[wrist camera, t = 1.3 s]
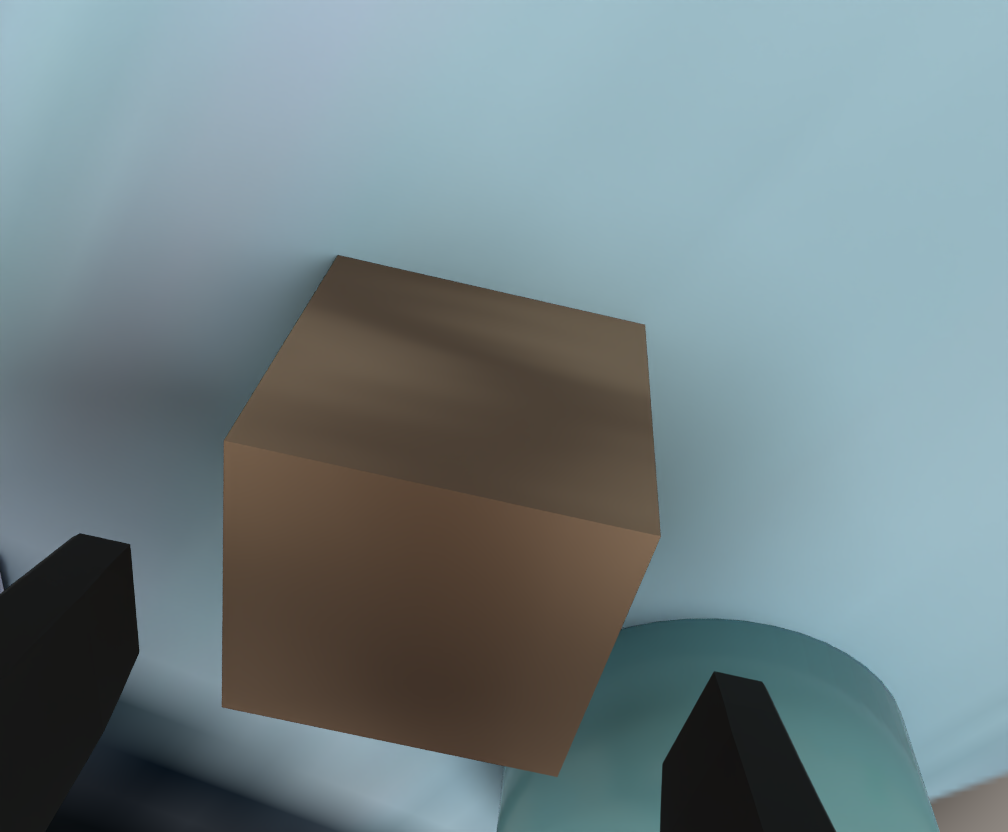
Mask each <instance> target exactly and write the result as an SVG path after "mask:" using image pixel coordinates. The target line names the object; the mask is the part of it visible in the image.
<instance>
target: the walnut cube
mask: <svg viewBox="0 0 1008 832" xmlns="http://www.w3.org/2000/svg"><path fill="white" fill-rule="evenodd" d="M660 537H661V533H660V520H659V507H658V493H657V480H656V466H655V453H654V439H653V426H652V412H651V399H650V385H649V372H648V358H647V345H646V331H645V325H644V324H639V323H635V322H631V321H626V320H622V319H617V318H613V317H609V316H604V315H600V314H595V313H591V312H587V311H582V310H578V309H573V308H569V307H565V306H560V305H556V304H551V303H547V302H543V301H538V300H534V299H529V298H525V297H521V296H516V295H512V294H507V293H503V292H498V291H494V290H490V289H485V288H481V287H476V286H472V285H468V284H463V283H459V282H454V281H450V280H446V279H441V278H437V277H432V276H428V275H424V274H419V273H415V272H410V271H406V270H402V269H397V268H393V267H388V266H384V265H380V264H375V263H371V262H366V261H362V260H358V259H353V258H349V257H344V256H340V255H338V256H337V257H336V259H335V261H334V262H333V264H332V265H331V267H330V269H329V270H328V272H327V274H326V275H325V277H324V278H323V280H322V282H321V283H320V285H319V287H318V288H317V290H316V292H315V293H314V295H313V296H312V298H311V300H310V301H309V303H308V305H307V306H306V308H305V309H304V311H303V313H302V314H301V316H300V318H299V319H298V321H297V322H296V324H295V326H294V327H293V329H292V331H291V332H290V334H289V335H288V337H287V339H286V340H285V342H284V344H283V345H282V347H281V348H280V350H279V352H278V353H277V355H276V357H275V358H274V360H273V361H272V363H271V365H270V366H269V368H268V370H267V371H266V373H265V374H264V376H263V378H262V379H261V381H260V383H259V384H258V386H257V387H256V389H255V391H254V392H253V394H252V396H251V397H250V399H249V401H248V402H247V404H246V405H245V407H244V409H243V410H242V412H241V414H240V415H239V417H238V418H237V420H236V422H235V423H234V425H233V427H232V428H231V430H230V431H229V433H228V435H227V436H226V438H225V440H224V491H223V621H222V707H223V708H228V709H233V710H238V711H242V712H247V713H252V714H257V715H262V716H266V717H271V718H276V719H281V720H286V721H290V722H295V723H300V724H305V725H310V726H314V727H319V728H324V729H329V730H334V731H338V732H343V733H348V734H353V735H358V736H362V737H367V738H372V739H377V740H382V741H386V742H391V743H396V744H401V745H406V746H410V747H415V748H420V749H425V750H430V751H434V752H439V753H444V754H449V755H453V756H458V757H463V758H468V759H473V760H477V761H482V762H487V763H492V764H497V765H501V766H506V767H511V768H516V769H521V770H525V771H530V772H535V773H540V774H545V775H549V776H554V777H558V775H559V772H560V770H561V768H562V765H563V763H564V761H565V758H566V756H567V754H568V751H569V749H570V747H571V744H572V742H573V740H574V737H575V735H576V733H577V730H578V728H579V726H580V723H581V721H582V719H583V716H584V714H585V712H586V709H587V707H588V705H589V702H590V700H591V698H592V695H593V693H594V691H595V688H596V686H597V684H598V681H599V679H600V677H601V674H602V672H603V670H604V667H605V665H606V663H607V660H608V658H609V656H610V653H611V651H612V649H613V646H614V644H615V642H616V639H617V637H618V635H619V632H620V630H621V628H622V625H623V623H624V621H625V618H626V616H627V614H628V611H629V609H630V607H631V604H632V602H633V600H634V598H635V595H636V593H637V591H638V588H639V586H640V584H641V581H642V579H643V577H644V574H645V572H646V570H647V567H648V565H649V563H650V560H651V558H652V556H653V553H654V551H655V549H656V546H657V544H658V542H659V539H660Z"/></svg>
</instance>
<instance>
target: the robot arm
mask: <svg viewBox="0 0 1008 832" xmlns="http://www.w3.org/2000/svg"><path fill="white" fill-rule="evenodd" d="M138 654H139V642H138V630H137V618H136V607H135V595H134V583H133V571H132V559H131V548H130V544H127V543H122V542H117V541H113V540H108V539H104V538H99V537H94V536H90V535H85V534H81V533H80V534H78V535H76V536H74V537H72V538H71V539H70V540H68V541H67V542H66V543H64V544H63V545H62V546H61V547H59V548H58V549H57V550H55V551H54V552H53V553H52V554H50V555H49V556H48V557H46V558H45V559H44V560H43V561H41V562H40V563H39V564H38V565H36V566H35V567H34V568H32V569H31V570H30V571H29V572H27V573H26V574H25V575H23V576H22V577H21V578H20V579H18V580H17V581H16V582H15V583H13V584H12V585H11V586H9V587H8V588H7V589H5V590H4V588H3V584H2V579H1V574H0V832H45V831H46V829H47V827H48V826H49V824H50V822H51V820H52V819H53V817H54V815H55V814H56V812H57V810H58V809H59V807H60V805H61V804H62V802H63V800H64V799H65V797H66V795H67V794H68V792H69V790H70V789H71V787H72V785H73V783H74V782H75V780H76V778H77V777H78V775H79V773H80V772H81V770H82V768H83V766H84V765H85V763H86V761H87V760H88V758H89V756H90V754H91V753H92V751H93V749H94V748H95V746H96V744H97V742H98V741H99V739H100V737H101V735H102V734H103V732H104V730H105V728H106V726H107V723H108V721H109V719H110V717H111V715H112V713H113V710H114V708H115V706H116V704H117V702H118V700H119V697H120V695H121V693H122V691H123V688H124V686H125V684H126V682H127V679H128V677H129V675H130V672H131V670H132V668H133V666H134V663H135V661H136V659H137V656H138ZM660 832H836V830H835V828H834V826H833V824H832V822H831V820H830V818H829V816H828V814H827V812H826V810H825V808H824V806H823V804H822V802H821V800H820V798H819V796H818V794H817V792H816V790H815V788H814V786H813V784H812V782H811V780H810V778H809V776H808V774H807V772H806V770H805V768H804V766H803V764H802V762H801V760H800V758H799V756H798V753H797V751H796V749H795V747H794V745H793V743H792V741H791V739H790V737H789V735H788V732H787V730H786V728H785V726H784V724H783V722H782V720H781V718H780V716H779V713H778V711H777V709H776V707H775V705H774V703H773V701H772V699H771V697H770V694H769V692H768V690H767V688H766V687H765V685H764V683H763V682H762V681H758V680H753V679H748V678H744V677H739V676H735V675H730V674H725V673H721V672H716V671H714V672H713V674H712V675H711V677H710V679H709V681H708V683H707V684H706V686H705V688H704V690H703V692H702V693H701V695H700V697H699V699H698V701H697V702H696V704H695V706H694V708H693V709H692V711H691V713H690V715H689V717H688V718H687V720H686V722H685V724H684V726H683V727H682V729H681V731H680V733H679V735H678V736H677V738H676V740H675V742H674V744H673V745H672V747H671V749H670V751H669V752H668V754H667V756H666V758H665V760H664V761H663V763H662V784H661V808H660Z"/></svg>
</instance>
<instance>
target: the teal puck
mask: <svg viewBox="0 0 1008 832" xmlns="http://www.w3.org/2000/svg"><path fill="white" fill-rule="evenodd" d="M714 671H716V672H721V673H725V674H730V675H735V676H739V677H744V678H748V679H753V680H758V681H762V682H763V683H764V685H765V687H766V688H767V690H768V692H769V694H770V697H771V699H772V701H773V703H774V705H775V707H776V709H777V711H778V713H779V716H780V718H781V720H782V722H783V724H784V726H785V728H786V730H787V732H788V735H789V737H790V739H791V741H792V743H793V745H794V747H795V749H796V751H797V753H798V756H799V758H800V760H801V762H802V764H803V766H804V768H805V770H806V772H807V774H808V776H809V778H810V780H811V782H812V784H813V786H814V788H815V790H816V792H817V794H818V796H819V798H820V800H821V802H822V804H823V806H824V808H825V810H826V812H827V814H828V816H829V818H830V820H831V822H832V824H833V826H834V828H835V830H836V832H940V831H939V828H938V825H937V822H936V819H935V816H934V812H933V810H932V806H931V803H930V800H929V797H928V794H927V791H926V788H925V785H924V782H923V779H922V776H921V773H920V770H919V766H918V763H917V760H916V757H915V754H914V751H913V748H912V745H911V742H910V739H909V736H908V733H907V730H906V727H905V723H904V720H903V717H902V714H901V712H900V710H899V708H898V705H897V703H896V701H895V699H894V697H893V696H892V694H891V693H890V692H889V690H888V689H887V688H886V686H885V685H884V684H883V682H882V681H881V680H880V679H879V678H878V677H876V676H875V675H874V674H873V673H872V672H871V671H870V670H869V669H868V668H867V667H866V666H864V665H863V664H861V663H860V662H858V661H857V660H856V659H854V658H853V657H851V656H850V655H848V654H847V653H845V652H843V651H841V650H839V649H837V648H835V647H833V646H831V645H829V644H827V643H825V642H823V641H820V640H817V639H815V638H812V637H810V636H807V635H804V634H802V633H799V632H795V631H791V630H787V629H784V628H780V627H776V626H772V625H766V624H760V623H754V622H748V621H739V620H726V619H681V620H670V621H660V622H654V623H648V624H643V625H638V626H633V627H628V628H625V629H621V630H620V632H619V635H618V637H617V639H616V642H615V644H614V646H613V649H612V651H611V653H610V656H609V658H608V660H607V663H606V665H605V667H604V670H603V672H602V674H601V677H600V679H599V681H598V684H597V686H596V688H595V691H594V693H593V695H592V698H591V700H590V702H589V705H588V707H587V709H586V712H585V714H584V716H583V719H582V721H581V723H580V726H579V728H578V730H577V733H576V735H575V737H574V740H573V742H572V744H571V747H570V749H569V751H568V754H567V756H566V758H565V761H564V763H563V765H562V768H561V770H560V772H559V775H558V777H554V776H549V775H545V774H540V773H535V772H530V771H525V770H521V769H516V768H511V767H506V766H504V770H503V779H502V788H501V797H500V806H499V815H498V824H497V832H660V808H661V784H662V763H663V761H664V760H665V758H666V756H667V754H668V752H669V751H670V749H671V747H672V745H673V744H674V742H675V740H676V738H677V736H678V735H679V733H680V731H681V729H682V727H683V726H684V724H685V722H686V720H687V718H688V717H689V715H690V713H691V711H692V709H693V708H694V706H695V704H696V702H697V701H698V699H699V697H700V695H701V693H702V692H703V690H704V688H705V686H706V684H707V683H708V681H709V679H710V677H711V675H712V674H713V672H714Z"/></svg>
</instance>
